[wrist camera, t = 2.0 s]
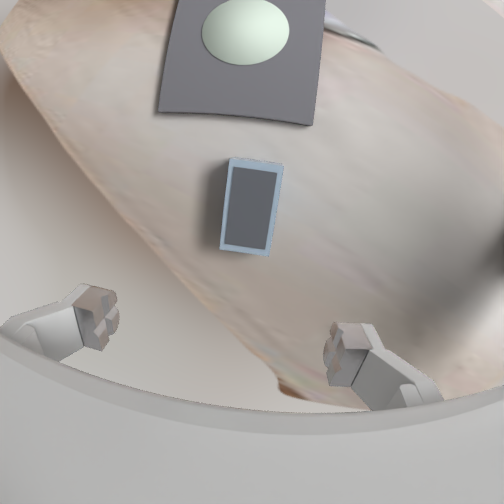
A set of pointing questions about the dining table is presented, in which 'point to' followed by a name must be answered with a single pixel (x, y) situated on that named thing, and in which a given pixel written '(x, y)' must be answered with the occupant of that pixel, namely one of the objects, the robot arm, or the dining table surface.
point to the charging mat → (244, 59)
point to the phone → (250, 205)
